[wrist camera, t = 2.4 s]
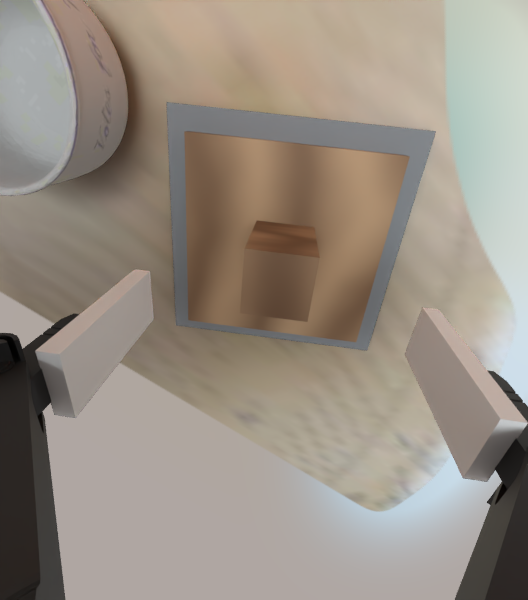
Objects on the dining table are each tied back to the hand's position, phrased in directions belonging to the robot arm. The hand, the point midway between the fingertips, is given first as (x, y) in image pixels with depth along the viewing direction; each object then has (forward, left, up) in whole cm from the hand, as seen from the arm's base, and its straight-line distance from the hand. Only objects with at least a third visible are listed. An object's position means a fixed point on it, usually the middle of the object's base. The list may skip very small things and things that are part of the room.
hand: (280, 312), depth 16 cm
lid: (0, 0, -10) cm, 10 cm away
